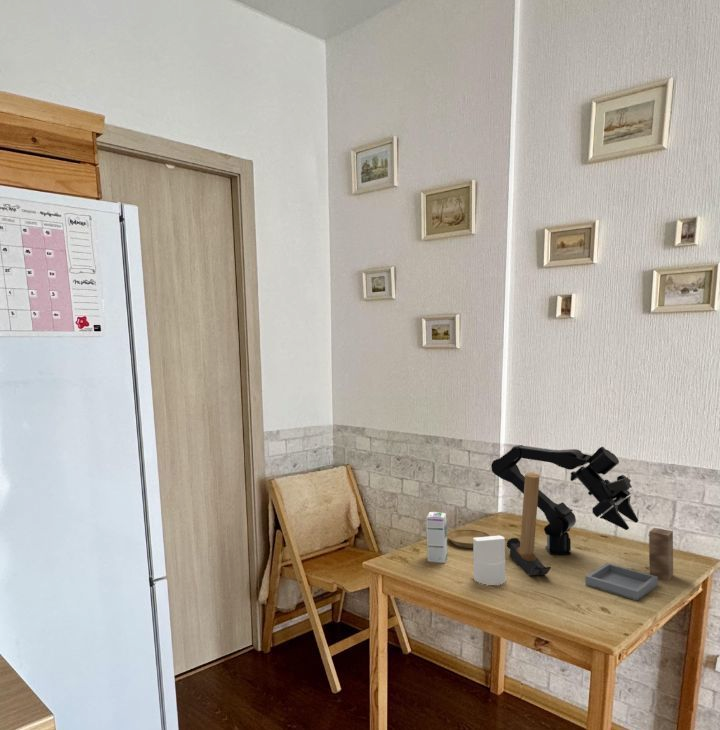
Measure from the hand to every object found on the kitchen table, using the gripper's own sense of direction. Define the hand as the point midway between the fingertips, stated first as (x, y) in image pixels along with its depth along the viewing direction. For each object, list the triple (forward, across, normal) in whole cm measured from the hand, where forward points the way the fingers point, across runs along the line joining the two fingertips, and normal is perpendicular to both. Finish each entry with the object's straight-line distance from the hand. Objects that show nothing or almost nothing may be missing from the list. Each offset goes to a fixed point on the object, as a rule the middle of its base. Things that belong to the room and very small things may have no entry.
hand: (632, 525), depth 163 cm
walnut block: (+15, 0, +4) cm, 15 cm away
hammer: (-8, -18, +27) cm, 34 cm away
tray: (+10, -14, +9) cm, 19 cm away
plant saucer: (-26, -11, +45) cm, 53 cm away
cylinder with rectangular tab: (-11, -34, +30) cm, 47 cm away
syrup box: (-26, -31, +44) cm, 60 cm away
